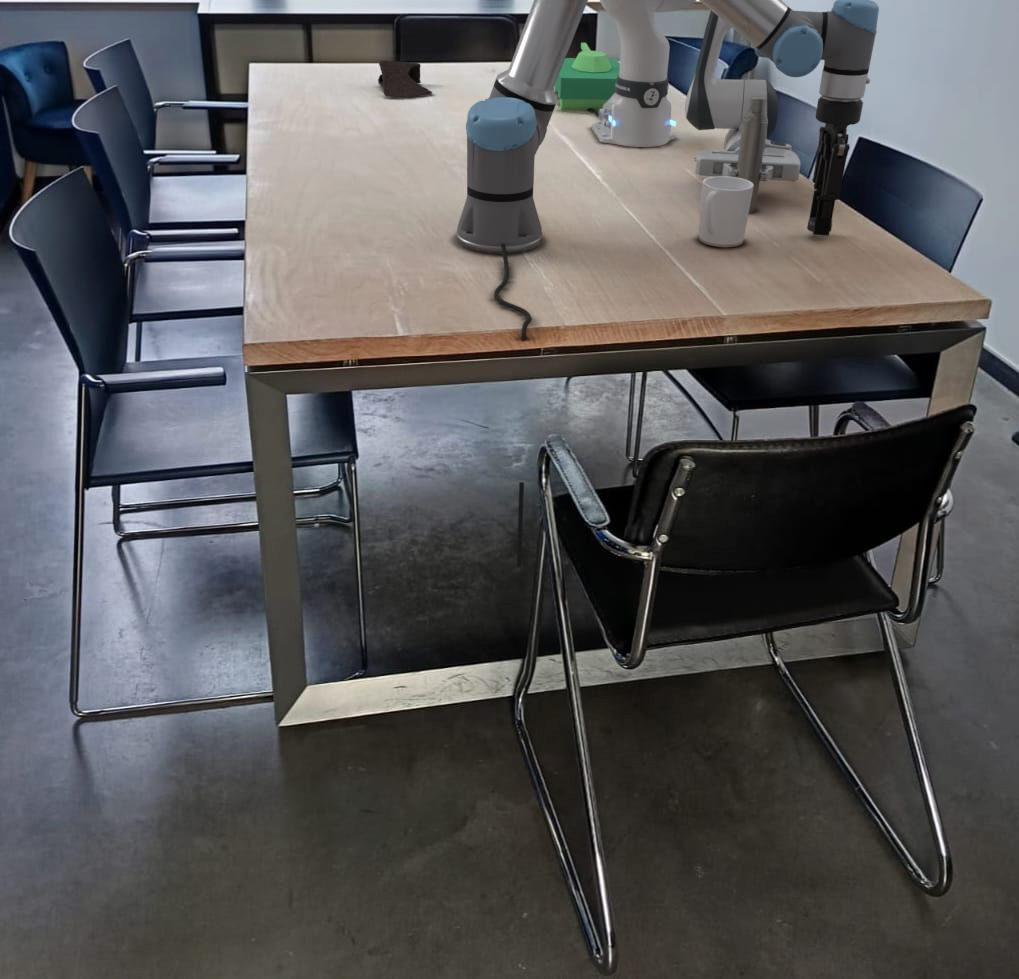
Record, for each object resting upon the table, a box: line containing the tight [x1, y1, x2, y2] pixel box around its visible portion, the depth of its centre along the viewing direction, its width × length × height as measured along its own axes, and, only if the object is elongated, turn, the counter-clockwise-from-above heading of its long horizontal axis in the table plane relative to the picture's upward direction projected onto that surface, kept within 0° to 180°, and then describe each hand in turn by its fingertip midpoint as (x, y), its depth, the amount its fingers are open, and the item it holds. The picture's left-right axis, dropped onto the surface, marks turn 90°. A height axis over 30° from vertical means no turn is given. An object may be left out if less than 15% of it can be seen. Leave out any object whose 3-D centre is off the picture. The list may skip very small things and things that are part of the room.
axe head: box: [377, 59, 433, 99], centre depth 299 cm, size 18×8×15 cm
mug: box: [698, 176, 754, 248], centre depth 195 cm, size 11×9×10 cm
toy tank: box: [554, 42, 620, 111], centre depth 293 cm, size 18×12×35 cm
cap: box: [806, 217, 833, 233], centre depth 200 cm, size 4×4×2 cm
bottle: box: [736, 96, 768, 214], centre depth 209 cm, size 5×5×21 cm
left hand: (818, 230), depth 200 cm, fingers closed on cap, 4 cm apart
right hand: (748, 176), depth 210 cm, fingers closed on bottle, 4 cm apart
